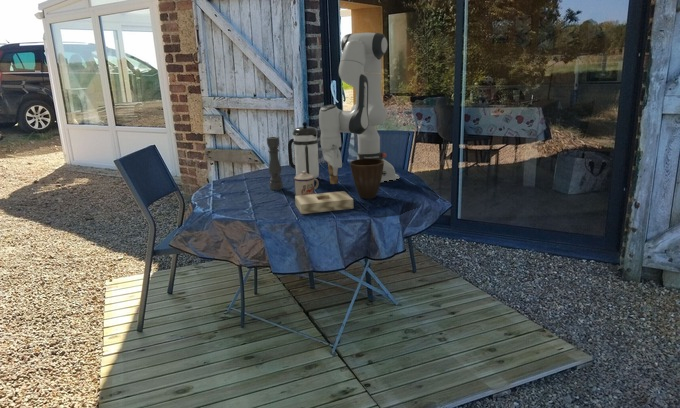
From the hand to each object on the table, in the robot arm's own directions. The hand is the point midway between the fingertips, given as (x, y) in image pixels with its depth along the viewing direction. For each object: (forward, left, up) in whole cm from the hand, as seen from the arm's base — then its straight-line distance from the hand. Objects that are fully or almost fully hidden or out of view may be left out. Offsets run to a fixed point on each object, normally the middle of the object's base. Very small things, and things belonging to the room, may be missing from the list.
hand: (333, 173), depth 217 cm
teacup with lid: (+11, -8, -11) cm, 17 cm away
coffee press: (+6, -40, -11) cm, 42 cm away
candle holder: (+23, -27, -11) cm, 37 cm away
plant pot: (-14, +4, -11) cm, 19 cm away
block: (+8, +12, -11) cm, 18 cm away
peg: (0, 0, -4) cm, 4 cm away
